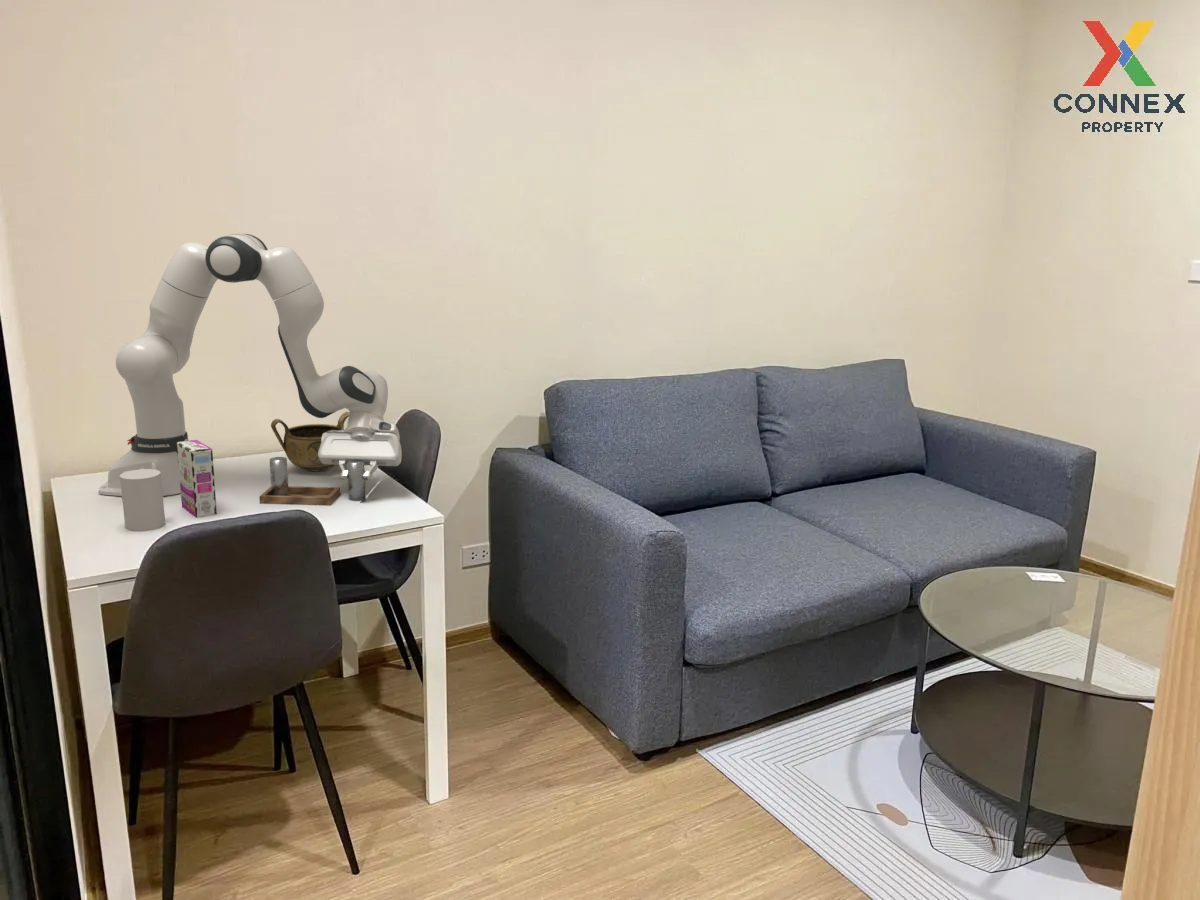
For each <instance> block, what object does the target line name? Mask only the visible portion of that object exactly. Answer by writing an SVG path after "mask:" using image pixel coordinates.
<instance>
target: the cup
mask: <svg viewBox="0 0 1200 900" xmlns="http://www.w3.org/2000/svg"><path fill="white" fill-rule="evenodd" d="M120 483H121V492H122V496H121V499H122V508H123V509H122V510H123V518H124V528H125V530H127V531H130V532H147V531H153V530H154V531H155V530H157V529H160V528H163V527H164V526H165V525H166V517H165V506H164V505H165V504H164V496H163V493H162V483H161V472H160V471H158V470H154V469H139V470H132V471H128V472H124V473H122V474H121V475H120Z"/></svg>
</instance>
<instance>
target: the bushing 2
mask: <svg viewBox="0 0 1200 900" xmlns="http://www.w3.org/2000/svg"><path fill="white" fill-rule="evenodd" d="M347 464H348V465H347V470H348V479H347V481H348V483H347V485H348V486H347V487H348V500H350V502H351V501H352V502H359V503H360V504H362V503H361V502H363V503H365V502H366V501H367V499H366V498H367V497H366V480H364V478H363V475H364V471H366V470H365V465H364V461H363V460H351V461H348V462H347Z"/></svg>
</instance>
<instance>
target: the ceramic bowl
mask: <svg viewBox="0 0 1200 900" xmlns="http://www.w3.org/2000/svg"><path fill="white" fill-rule="evenodd" d="M349 415H350V411H345V412H343V413H342V414H341V415H340V417H339V419H338V420H337V425H335V424H325V423H311V424H309V423H307V424H299V425H295V426H291V427H289V426H288V425H287V424H286V422H284V421H283V420H282V419H280V418H275V419H273V420H272V422H271V424H270V427H271V430H272V431H273V434H274V435H275V438H276V439H277V440H278V442H279V444H280V446H281V448H282V450H283V451H284V453H285V455H286V458H287V460H289V461H290V463H292V464H293V465H294V466H296V468H299V469H301V470H304V471H308V472H322V471H326V470H328V469H331V468H332V467H334V466H335V465H336V464H322V463H321V461H320V460H319V458H318V451H319V448H320V445H321V438H322V435H323V433H325V432H327V431H329V430H346V429H347V427H346V428H345V425H344V424H345V422H346V420H348V418H349ZM279 423H280V424H281V425H282V426H283V427H284V435H283V436H284V437H283V439H282V437H281V435H280V433H279V431H278V430H277V425H278V424H279Z"/></svg>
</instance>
